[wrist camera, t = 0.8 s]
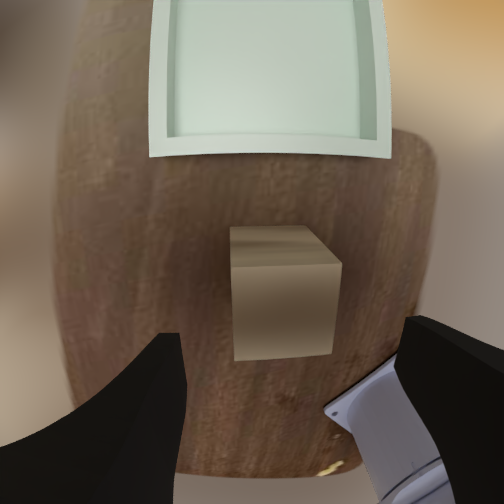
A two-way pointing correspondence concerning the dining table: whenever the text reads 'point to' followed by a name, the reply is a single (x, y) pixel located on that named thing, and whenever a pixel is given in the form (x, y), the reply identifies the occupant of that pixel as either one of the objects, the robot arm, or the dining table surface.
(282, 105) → the sage tray
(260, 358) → the maple block
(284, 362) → the dining table surface
